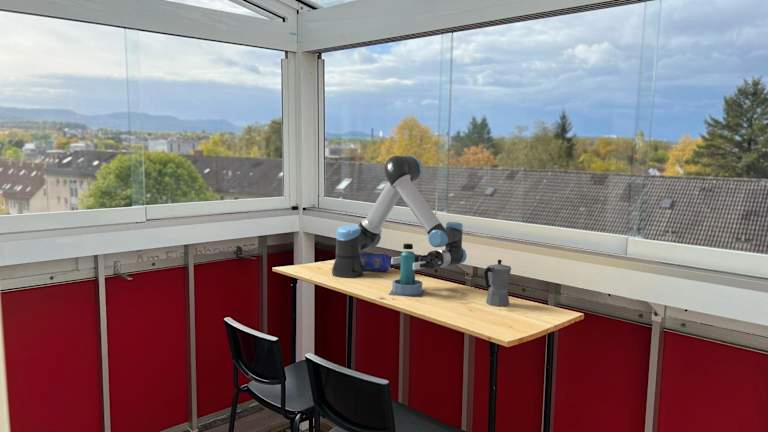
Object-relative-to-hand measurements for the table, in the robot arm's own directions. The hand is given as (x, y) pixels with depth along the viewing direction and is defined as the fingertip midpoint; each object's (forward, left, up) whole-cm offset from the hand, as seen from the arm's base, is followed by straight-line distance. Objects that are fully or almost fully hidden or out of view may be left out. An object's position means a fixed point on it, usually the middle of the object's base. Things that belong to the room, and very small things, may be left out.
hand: (402, 263), depth 240 cm
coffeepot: (+39, -5, -13) cm, 42 cm away
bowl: (+2, +3, -13) cm, 13 cm away
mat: (+2, +3, -13) cm, 13 cm away
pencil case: (-23, +43, -13) cm, 50 cm away
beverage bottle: (+2, +3, -12) cm, 13 cm away
